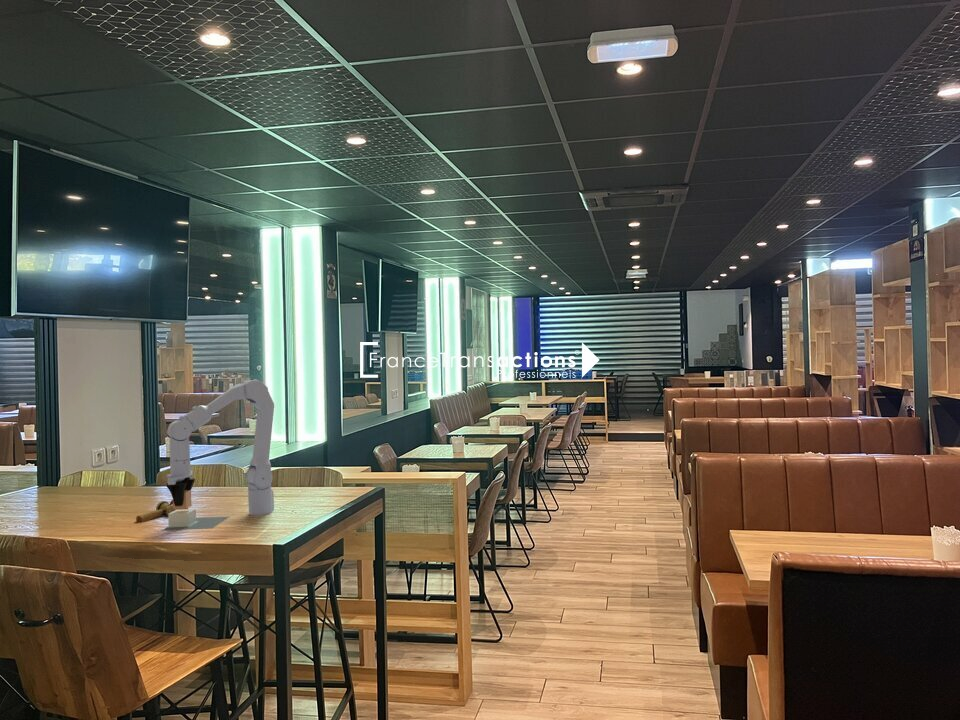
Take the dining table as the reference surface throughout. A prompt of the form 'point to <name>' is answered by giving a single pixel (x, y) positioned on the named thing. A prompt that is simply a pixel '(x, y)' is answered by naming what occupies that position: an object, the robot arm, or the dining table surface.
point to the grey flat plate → (201, 523)
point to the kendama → (157, 511)
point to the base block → (182, 517)
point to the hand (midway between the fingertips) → (181, 504)
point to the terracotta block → (185, 501)
